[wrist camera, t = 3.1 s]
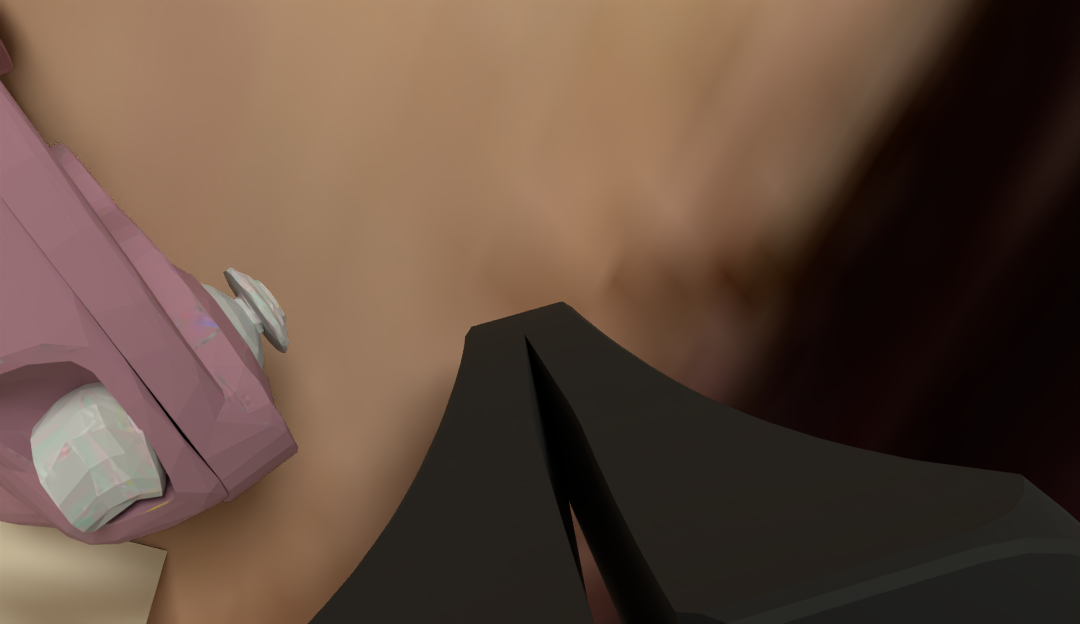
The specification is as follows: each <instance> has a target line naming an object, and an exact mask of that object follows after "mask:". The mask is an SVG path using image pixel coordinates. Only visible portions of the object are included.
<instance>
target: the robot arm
mask: <svg viewBox="0 0 1080 624" xmlns="http://www.w3.org/2000/svg"><path fill="white" fill-rule="evenodd" d="M569 502H570V504H571V507H572V509H573V511H574V514H575V516H576V518H577V521H578V523H579V525H580V528H581V530H582V532H583V535H584V537H585V539H586V541H587V544H588V546H589V548H590V551H591V553H592V555H593V558H594V560H595V562H596V564H597V567H598V569H599V571H600V574H601V576H602V578H603V580H604V583H605V585H606V587H607V590H608V592H609V594H610V597H611V599H612V601H613V603H614V606H615V608H616V610H617V613H618V615H619V617H620V619H621V622H622V624H1080V523H1079V522H1078V521H1077V520H1076V519H1075V518H1074V517H1073V516H1071V515H1070V514H1069V513H1068V512H1067V511H1066V510H1065V509H1064V508H1062V507H1061V506H1060V505H1059V504H1057V503H1056V502H1055V501H1054V500H1052V499H1051V498H1050V497H1048V496H1047V495H1046V494H1045V493H1043V492H1042V491H1041V490H1040V489H1038V488H1037V487H1036V486H1035V485H1033V484H1032V483H1031V482H1030V481H1028V480H1027V479H1026V478H1025V477H1023V476H1022V475H1021V474H1014V473H1007V472H999V471H992V470H984V469H977V468H969V467H962V466H955V465H947V464H940V463H932V462H925V461H918V460H913V459H907V458H902V457H898V456H893V455H888V454H883V453H879V452H874V451H869V450H865V449H860V448H855V447H851V446H847V445H843V444H839V443H836V442H832V441H828V440H824V439H820V438H817V437H813V436H810V435H807V434H804V433H801V432H798V431H794V430H791V429H788V428H785V427H782V426H778V425H775V424H772V423H769V422H767V421H764V420H761V419H758V418H756V417H753V416H750V415H748V414H745V413H743V412H740V411H738V410H736V409H733V408H731V407H729V406H726V405H724V404H722V403H719V402H717V401H715V400H712V399H710V398H708V397H705V396H703V395H701V394H699V393H697V392H695V391H693V390H691V389H689V388H688V387H686V386H684V385H682V384H681V383H679V382H677V381H675V380H673V379H672V378H670V377H668V376H666V375H665V374H663V373H661V372H660V371H658V370H656V369H655V368H653V367H651V366H650V365H648V364H647V363H645V362H644V361H642V360H641V359H639V358H638V357H636V356H635V355H633V354H632V353H630V352H629V351H627V350H626V349H624V348H623V347H621V346H620V345H619V344H617V343H616V342H614V341H613V340H612V339H610V338H609V337H608V336H606V335H605V334H604V333H602V332H601V331H600V330H598V329H597V328H596V327H595V326H593V325H592V324H591V323H590V322H588V321H587V320H586V319H585V318H584V317H582V316H581V315H580V314H579V313H578V312H577V311H576V310H574V309H573V308H572V307H571V306H569V305H567V304H566V303H564V302H558V303H555V304H551V305H547V306H544V307H540V308H537V309H533V310H530V311H526V312H523V313H519V314H515V315H512V316H508V317H505V318H501V319H498V320H494V321H491V322H487V323H484V324H480V325H476V326H473V327H471V328H470V330H469V332H468V333H467V335H466V336H465V344H464V350H463V355H462V359H461V363H460V367H459V371H458V374H457V378H456V381H455V384H454V387H453V390H452V393H451V396H450V399H449V402H448V404H447V407H446V410H445V413H444V416H443V418H442V421H441V423H440V426H439V428H438V430H437V432H436V435H435V437H434V439H433V441H432V444H431V446H430V448H429V450H428V452H427V455H426V457H425V459H424V461H423V463H422V465H421V467H420V469H419V471H418V473H417V475H416V477H415V479H414V481H413V483H412V485H411V486H410V488H409V490H408V492H407V494H406V495H405V497H404V499H403V500H402V502H401V504H400V505H399V507H398V509H397V510H396V512H395V514H394V515H393V517H392V518H391V520H390V522H389V523H388V525H387V526H386V527H385V529H384V530H383V532H382V533H381V535H380V536H379V538H378V539H377V541H376V542H375V543H374V545H373V546H372V547H371V549H370V550H369V551H368V553H367V554H366V555H365V557H364V558H363V560H362V561H361V562H360V564H359V565H358V566H357V568H356V569H355V570H354V572H353V573H352V574H351V575H350V577H349V578H348V579H347V580H346V581H345V583H344V584H343V585H342V586H341V587H340V588H339V590H338V591H337V592H336V593H335V594H334V595H333V597H332V598H331V599H330V600H329V601H328V602H327V604H326V605H325V606H324V607H323V608H322V609H321V610H320V611H319V612H318V613H317V614H316V615H315V617H314V618H313V619H312V620H311V621H310V622H309V623H308V624H594V620H593V617H592V614H591V611H590V608H589V605H588V600H587V595H586V590H585V584H584V579H583V574H582V568H581V563H580V558H579V552H578V547H577V542H576V537H575V531H574V526H573V521H572V515H571V510H570V505H569Z"/></svg>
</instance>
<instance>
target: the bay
mask: <svg viewBox="0 0 1080 624" xmlns="http://www.w3.org/2000/svg"><path fill="white" fill-rule="evenodd" d="M166 554H167V551H165V550H161V549H157V548H153V547H149V546H145V545H141V544H137V543H133V542H129V541H127V542H124V543H120V544H101V545H89V544H86V543H83V542H80V541H78V540H75V539H72V538H69V537H67V536H66V535H65V534H63V533H62V532H61V531H59V530H58V529H57V528H51V527H39V526H27V525H17V524H12V523H7V522H2V521H0V624H146V623H147V619H148V616H149V612H150V609H151V605H152V602H153V599H154V595H155V592H156V588H157V585H158V582H159V578H160V575H161V571H162V568H163V564H164V561H165V558H166Z"/></svg>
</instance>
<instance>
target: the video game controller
mask: <svg viewBox="0 0 1080 624" xmlns="http://www.w3.org/2000/svg"><path fill="white" fill-rule="evenodd" d="M12 70H13V64H12V61H11V58H10V56H9V54H8V52H7V50H6V48H5V46H4V45H3V43H2V41H1V39H0V76H1V75H3V74H5V73H7V72H10V71H12ZM223 273H224V275H225V277H226V279H227V282H228V284H229V286H230V288H231V289H232V291H233V292H234V294H235V296H236V297H237V298H235V299H233V298H231V297H229V296H228V295H226V294H224V293H222V292H221V291H219V290H217V289H215V288H213V287H212V286H209V285H206V284H202V283H199V282H198V281H197V280H196V279H195V277H194V276H193V275H192V274H189V273H187V272H185V271H183V270H181V269H180V268H178V267H176V266H174V265H173V264H171V263H170V262H169V260H168V259H167V258H166V256H165V255H164V254H163V253H162V252H161V250H160V249H159V248H158V247H157V246H156V245H155V244H154V243H153V242H152V241H151V240H150V238H149V237H148V236H147V235H146V234H145V233H144V232H143V231H142V230H141V229H140V228H139V227H138V226H137V225H136V224H135V223H134V222H133V221H132V220H131V219H130V218H129V217H128V216H127V215H126V214H125V213H124V212H123V211H122V210H121V209H120V208H119V207H118V206H117V205H116V204H115V203H114V201H113V200H112V199H111V198H110V197H109V195H108V194H107V193H106V192H105V191H104V189H103V188H102V187H101V186H100V184H99V183H98V182H97V181H96V180H95V178H94V177H93V176H92V175H91V174H90V172H89V171H88V170H87V169H86V168H85V166H84V165H83V164H82V163H81V161H80V160H79V159H78V158H77V157H76V156H75V155H74V153H73V152H72V151H71V150H70V149H69V148H68V147H67V146H65V145H63V144H61V143H57V144H55V145H53V146H51V147H48V146H47V144H46V143H45V142H44V140H43V139H42V137H41V136H40V135H39V133H38V132H37V131H36V129H35V128H34V126H33V125H32V124H31V122H30V121H29V119H28V118H27V117H26V115H25V114H24V113H23V111H22V110H21V108H20V107H19V106H18V104H17V103H16V101H15V100H14V99H13V97H12V96H11V95H10V93H9V92H8V90H7V89H6V88H5V86H4V85H3V83H2V82H1V81H0V521H2V522H7V523H12V524H17V525H27V526H39V527H51V528H57V529H58V530H59V531H61V532H62V533H63V534H65V535H66V536H67V537H69V538H72V539H75V540H78V541H80V542H83V543H86V544H89V545H101V544H120V543H124V542H127V541H130V540H133V539H136V538H140V537H143V536H146V535H149V534H152V533H156V532H159V531H162V530H165V529H168V528H171V527H173V526H175V525H178V524H180V523H182V522H184V521H186V520H188V519H190V518H192V517H194V516H196V515H198V514H200V513H202V512H204V511H206V510H208V509H210V508H212V507H213V506H215V505H216V504H218V503H219V502H221V501H223V502H231V501H232V500H233V499H235V498H236V497H237V496H239V495H240V494H241V493H243V492H244V491H246V490H247V489H248V488H250V487H251V486H252V485H254V484H255V483H256V482H258V481H259V480H260V479H262V478H263V477H264V476H266V475H267V474H268V473H270V472H271V471H272V470H274V469H275V468H276V467H278V466H279V465H280V464H282V463H283V462H284V461H286V460H287V459H289V458H290V457H291V456H293V455H294V454H295V453H297V450H298V446H297V444H296V442H295V440H294V438H293V436H292V434H291V433H290V431H289V429H288V427H287V425H286V423H285V421H284V419H283V417H282V416H281V414H280V413H279V411H278V410H277V408H276V406H275V405H274V401H273V396H272V392H271V389H270V385H269V382H268V378H267V377H266V375H265V373H264V372H263V366H264V355H263V349H262V344H261V339H260V334H261V333H263V334H264V336H265V337H266V338H267V340H268V341H269V342H270V343H271V344H272V345H273V346H274V347H275V348H276V349H277V350H278V351H280V352H282V353H286V350H287V347H288V344H289V341H288V338H287V335H288V330H287V328H286V326H285V323H286V317H285V314H284V312H283V311H282V309H281V307H280V306H279V304H278V302H277V301H276V299H275V298H274V297H273V295H272V294H271V293H270V291H269V290H268V289H267V288H266V287H265V286H264V285H263V284H262V283H261V282H260V281H258V280H253V279H252V278H251V277H250V276H248V275H246V274H243V273H240V272H238V271H237V270H235V269H233V268H231V267H230V268H229V269H227V270H226V271H225V272H223Z"/></svg>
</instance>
